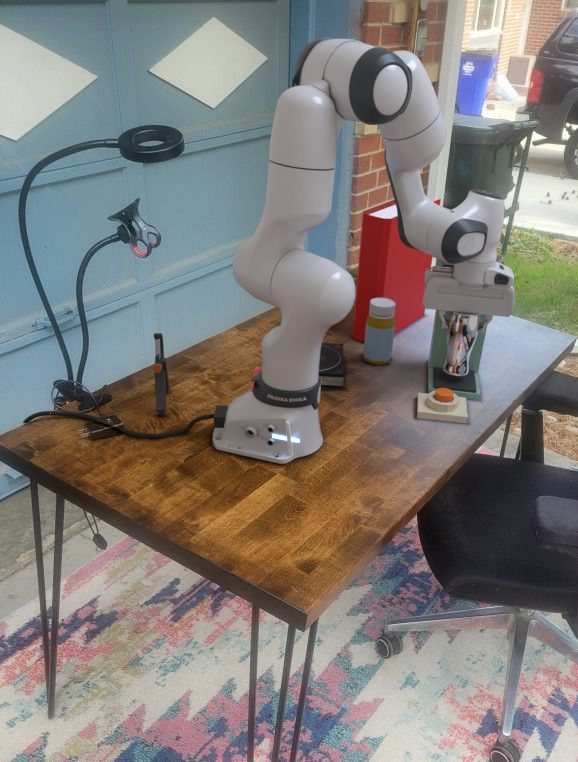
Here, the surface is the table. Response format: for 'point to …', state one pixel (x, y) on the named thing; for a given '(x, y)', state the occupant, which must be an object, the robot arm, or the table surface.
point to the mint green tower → (437, 356)
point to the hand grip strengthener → (160, 375)
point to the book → (388, 270)
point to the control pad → (441, 408)
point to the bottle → (379, 331)
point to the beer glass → (460, 342)
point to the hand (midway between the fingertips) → (463, 329)
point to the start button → (444, 395)
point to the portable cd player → (331, 366)
